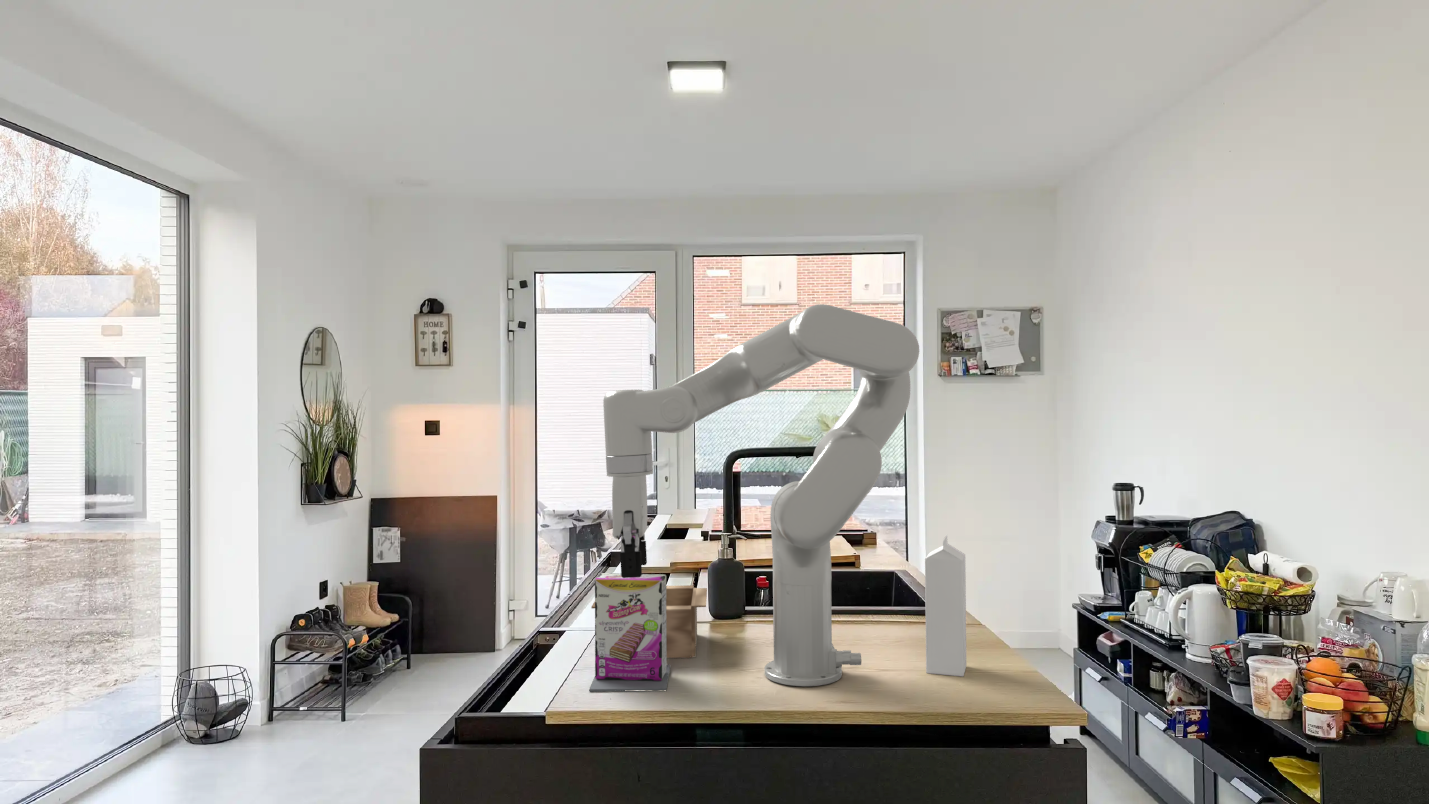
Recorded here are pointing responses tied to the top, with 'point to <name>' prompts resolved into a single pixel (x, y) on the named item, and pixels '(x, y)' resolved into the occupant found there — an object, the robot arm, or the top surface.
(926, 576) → the milk
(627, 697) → the top surface
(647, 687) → the mat
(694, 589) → the open wooden box
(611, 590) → the candy bar box
